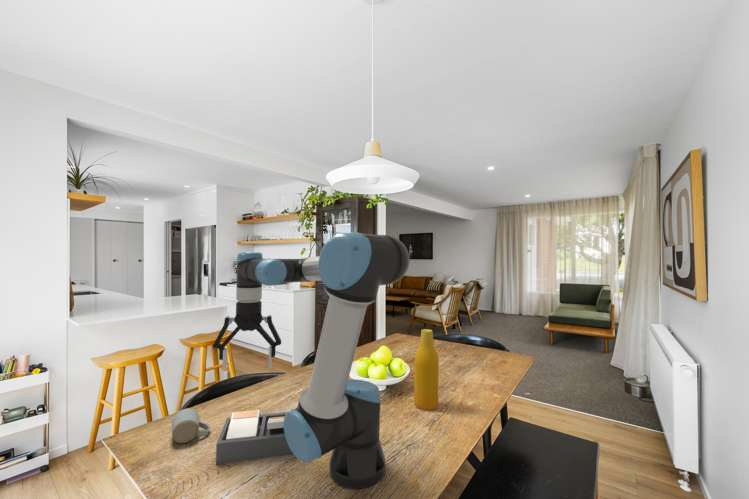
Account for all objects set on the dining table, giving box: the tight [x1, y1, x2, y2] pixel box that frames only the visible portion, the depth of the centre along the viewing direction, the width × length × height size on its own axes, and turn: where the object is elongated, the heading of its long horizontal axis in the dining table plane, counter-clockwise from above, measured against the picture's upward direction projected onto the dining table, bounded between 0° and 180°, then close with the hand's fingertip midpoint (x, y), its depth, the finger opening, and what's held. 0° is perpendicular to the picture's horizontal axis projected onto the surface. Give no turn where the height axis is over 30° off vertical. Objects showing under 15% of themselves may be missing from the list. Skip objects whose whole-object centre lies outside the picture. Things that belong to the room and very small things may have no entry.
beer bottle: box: [413, 328, 440, 411], centre depth 129 cm, size 9×9×29 cm
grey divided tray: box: [215, 411, 295, 465], centre depth 101 cm, size 15×23×8 cm, turn 104°
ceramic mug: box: [171, 408, 211, 444], centre depth 105 cm, size 11×8×8 cm
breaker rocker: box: [226, 409, 261, 440], centre depth 100 cm, size 10×9×2 cm
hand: (247, 368), depth 104 cm, fingers open, 13 cm apart
